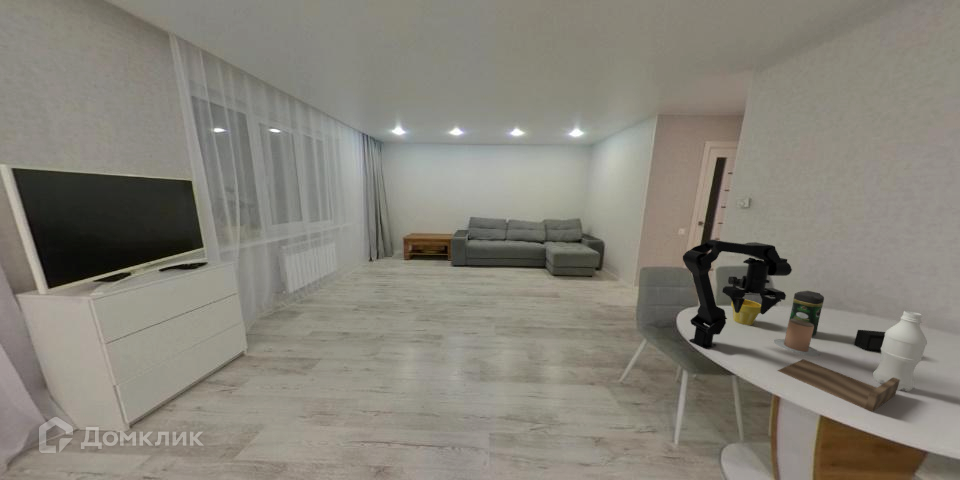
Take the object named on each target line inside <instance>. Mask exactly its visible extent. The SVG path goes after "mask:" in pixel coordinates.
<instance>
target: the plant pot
mask: <svg viewBox="0 0 960 480" xmlns="http://www.w3.org/2000/svg"><path fill="white" fill-rule="evenodd" d="M744 299H745V300H744V302H743V304H742V307H741V309H740V311H739V313H736V312H735V309H734V306H733V302H732V301H731V304H730V306H731V308H732V316H733V317H732V318H733V321H734V322H736V323H739V324H741V325H745V326H746V325H747V326H752V325H754V322H755V320H756V318H757V317H758V315H759V314H761V313H760V309H761V303H759V302H757V301H753V300H749V299H746V298H744Z"/></svg>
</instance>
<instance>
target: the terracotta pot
mask: <svg viewBox="0 0 960 480" xmlns="http://www.w3.org/2000/svg"><path fill="white" fill-rule="evenodd" d="M789 319H790V318H789ZM789 319H788V323H787V328H786V332H785V338H784V339H785V341H784V345H785V346H787V347H789V348H791V349H794V350H798V351H803V352H807V351H808V350H809V347H811V346H810V345H811V342H812V337H813V336H812V333H813V329H814V325H813V324H812V323H810V322H807V321H804V320H799V319H790V320H789Z"/></svg>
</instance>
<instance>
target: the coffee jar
mask: <svg viewBox="0 0 960 480" xmlns="http://www.w3.org/2000/svg"><path fill="white" fill-rule="evenodd" d="M824 300H825V297H824V296H823V294H821V292H815V291H811V290H803V291H798V292H795V293H794V295H793V300H792V307H791V311H790V315H789V318H788V321H789V320H790V319H799V320H804V321H807V322H810V323H812V324H813V325H814V329H813V333H812V337H814V336H815V335H817V332H818V326H819V323H820V317H821V313H822V309H823V306H824V305H823V304H824Z"/></svg>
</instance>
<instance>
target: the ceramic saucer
mask: <svg viewBox="0 0 960 480" xmlns="http://www.w3.org/2000/svg"><path fill="white" fill-rule="evenodd" d="M784 341H785V338H776V339H773V343H774V344H775V345H776V346H778V347H780V348H782V349H784V350H787V351H789V352H792V353H794V354H799V355H802V356H803V355H804V356H807V357H808V356H809V357H818V356H820V355H821V353H820V352H819V351H818V350H817V349H815V348H813V347H811V346H809V350H808V351H807V352H803V351H798V350H794V349H791V348H789V347H787V346H785V345H784Z"/></svg>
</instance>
